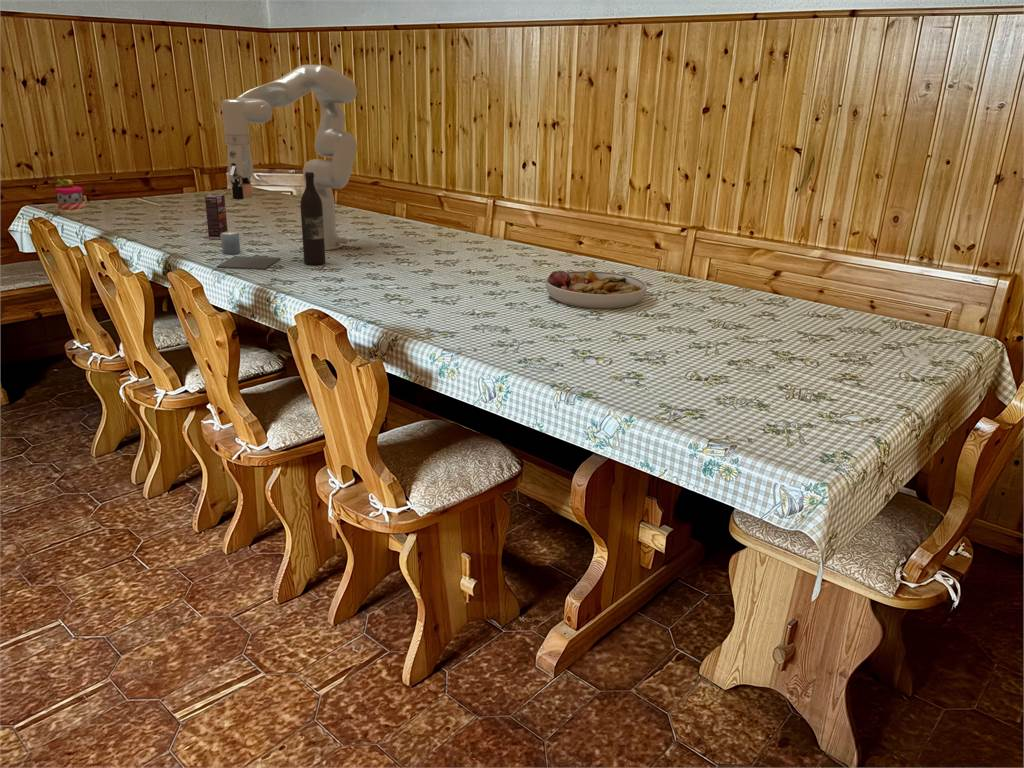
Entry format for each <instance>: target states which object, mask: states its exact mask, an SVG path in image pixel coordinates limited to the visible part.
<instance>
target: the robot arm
mask: <svg viewBox="0 0 1024 768" xmlns="http://www.w3.org/2000/svg"><path fill="white" fill-rule="evenodd" d="M312 92H313V93H314V96H315V98H316V100H317V102H318V105H319V107H320V113H321V114H320V115H321V116H320V121H319V125H318V128H317V133H316V137H315V139H314V140H315V141H314V150H315V153H316V154H317V155H318V156H320V157H323V158H329V159H332V160H329V159H323V158H322V159H321V158H315V159H314V158H313V159H310V160H308V161H307V162H306V163H305V164H304V166H303V168H302V176H303V181H304V184H305V186H306V178H305V172H313V174H314V186H315V189H316V191H317V193H318V194H319V196H320V198H321V201H322V208H323V226H324V244H325V251H332V250H338V249H340V248H341V247H342V245H343V244H345V245H347V244H348V243H349V239H348V238H346V237H340V236H339V233H337V225H336V223H337V222H336V207H335V206H336V205H335V196H334V193H333V190H332V189H336V190H338V189H339V190H340V189H343V188H345V187H346V186H347V185H348V184H349V183H348V182H349V181H350V178H351V174H352V171H353V167H354V164H355V159H356V156H357V151H358V149H357V148H358V146H357V140H356V138H355V136H354V135H353V134H352V133H351V132H349V131H344V130H345V124H346V115H345V112H344V109H343V108H342V105H341V104H350V103H352V102H353V101H355V100H356V97H357V94H358V90H357V86H356V83H355V82H354V80H353V79H351V78H350V77H348V76H347V75H344V73H343V74H342V73H340V72H338V70H335V69H333V68H331V67H329V66H326V65H324V64H301V65H299V66H298V67H295V68H294V69H292V70H290V71H289V72H287V73H286V74H284V75H282V76H281V77H279V78H278V79H275V80H273V81H270V82H267V83H265V84H262V85H258V86H257V87H254V88H251V89H249V90H247V91H245V92H244V93H242V94H240V95H238V96H237V97H236V98H233V99H232V98H230V99H229V98H226V99H224V100H222V102H221V112H222V121H223V133H224V144H225V146H226V147H227V148H226V151H227V153H226V154H227V155H226V156H227V157H226V158H227V171H228V177H229V178H230V184H231V185H230V187H231V186H232V192H233V198H232V199H233V200H244V198H243V188H242V187H241V183H249V184H252V180H251V177H252V176H253V175H254V166H253V158H252V151H251V148H250V146H251V140H250V127H249V124H259V125H261V124H266V123H268V122H270V120H271V119H272V118H273V108H281V107H287V106H289V105H292V104H294V103H295V102H296V101H298V100H300V99H301V98H302V97H304V96H306V95H308V94H309V93H312Z"/></svg>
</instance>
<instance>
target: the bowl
mask: <svg viewBox="0 0 1024 768" xmlns="http://www.w3.org/2000/svg"><path fill="white" fill-rule="evenodd" d="M544 281H545V283H544V284H545V285H544V286H545V289H546V292H547V294H548V295H549V296H550V297H551V298H553V299H554V300H555V301H557V302H560V303H562V304H565V305H567V306H568V305H569V306H572V307H573V306H574V307H578V308H586V309H596V310H598V309H599V310H608V309H609V310H611V309H612V310H613V309H621V308H627V307H630V306H633V305H635V304H638V303H640V302H641V301H642V300H643V299H644V298H645V296H646V293H647V288H648V285H647V283H646V282H645V281H643V280H642V279H639V278H637V277H634V276H630V275H627V274H623V273H616V272H607V271H595V270H592V269H589V270H575V271H565V270H558V271H557V270H555V271H553V272H551V273H550V275H548V277H546V278H545V280H544Z"/></svg>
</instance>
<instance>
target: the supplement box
mask: <svg viewBox="0 0 1024 768" xmlns="http://www.w3.org/2000/svg"><path fill="white" fill-rule="evenodd" d="M225 199H226V197H225V194H216V193H214V194H211V195H207V196H204V201H205V202H204V203H205V212H206V222H207V235H208V239H209V240H221V233H223V232H229V231H228V221H227V211H226V200H225Z"/></svg>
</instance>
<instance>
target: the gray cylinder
mask: <svg viewBox="0 0 1024 768" xmlns="http://www.w3.org/2000/svg"><path fill="white" fill-rule="evenodd" d="M220 241H221V250H222V254H223V255H237V254H238V255H239V254H240V253H241V245H240V244H241V243H240V233H239V232H237V231H228V232H223V233H221V239H220Z"/></svg>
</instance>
